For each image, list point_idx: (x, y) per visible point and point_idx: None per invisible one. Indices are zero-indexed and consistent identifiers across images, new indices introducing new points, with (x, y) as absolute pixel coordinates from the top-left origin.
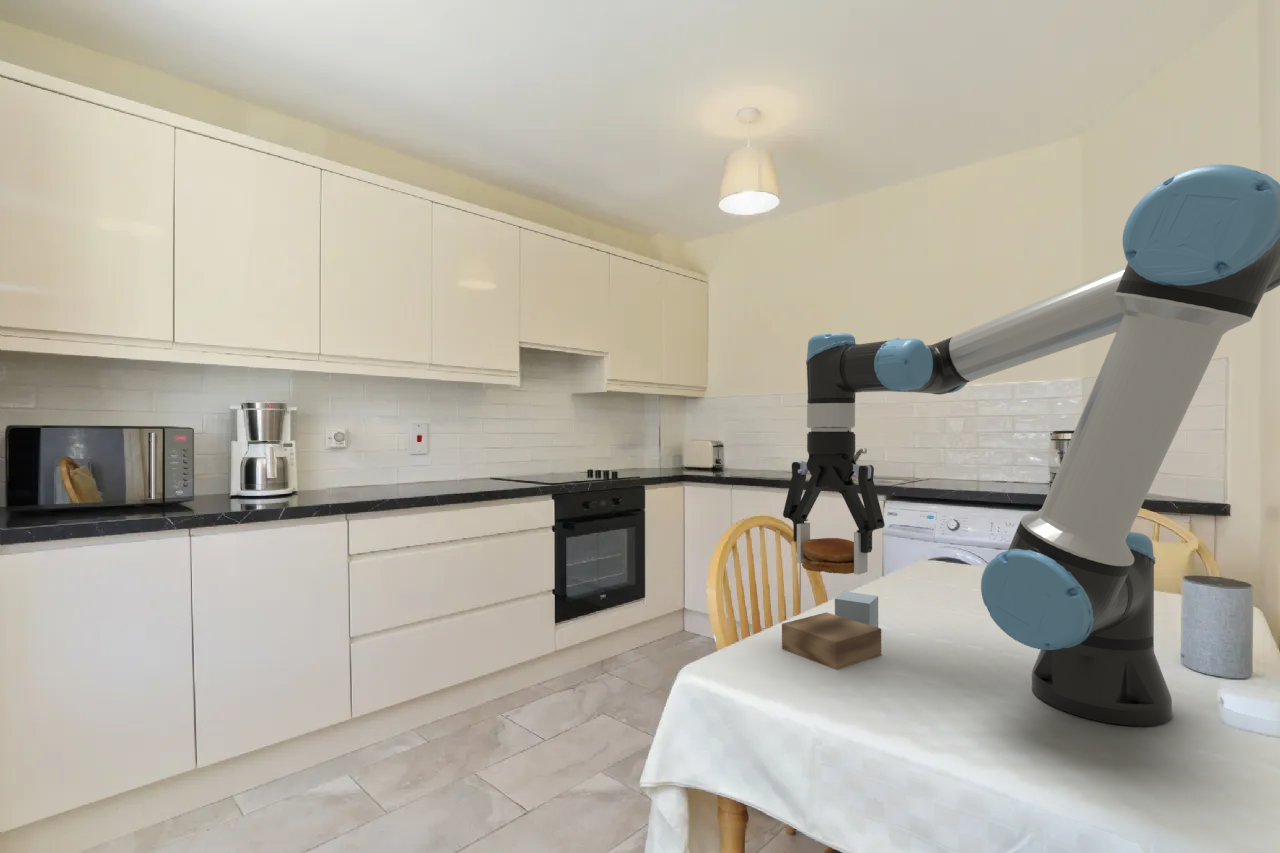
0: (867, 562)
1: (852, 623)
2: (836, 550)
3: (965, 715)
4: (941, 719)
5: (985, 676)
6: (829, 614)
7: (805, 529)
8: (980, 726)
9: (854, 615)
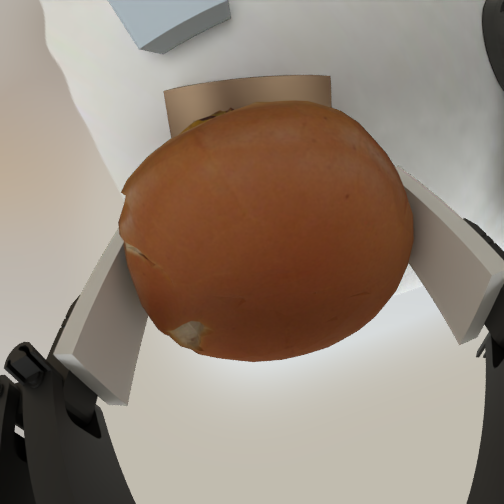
0: (417, 180)
1: (266, 98)
2: (365, 324)
3: (471, 183)
4: (459, 210)
5: (449, 48)
6: (181, 94)
7: (109, 354)
8: (482, 194)
9: (194, 25)
